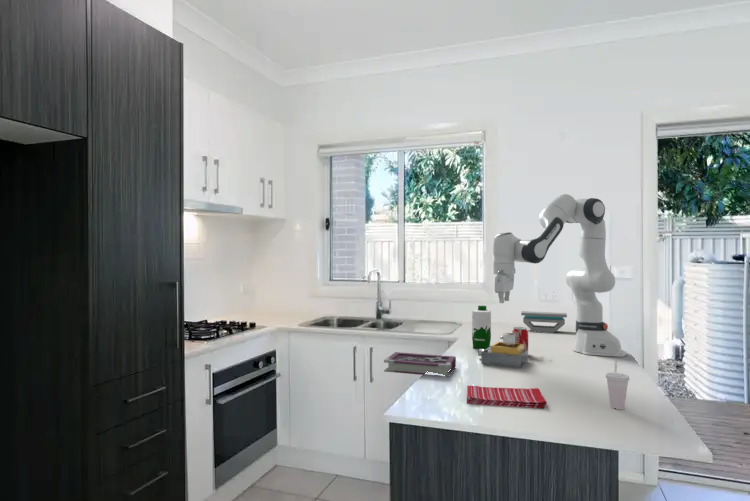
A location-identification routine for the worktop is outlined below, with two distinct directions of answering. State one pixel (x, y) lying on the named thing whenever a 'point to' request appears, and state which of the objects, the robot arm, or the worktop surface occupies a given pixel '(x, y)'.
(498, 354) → the grey gold framed box
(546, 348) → the worktop surface
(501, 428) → the worktop surface
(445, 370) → the book
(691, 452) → the worktop surface
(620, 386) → the smoothie
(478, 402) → the dish towel
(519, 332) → the soda can
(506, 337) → the spout can
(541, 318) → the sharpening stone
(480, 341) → the milk carton
